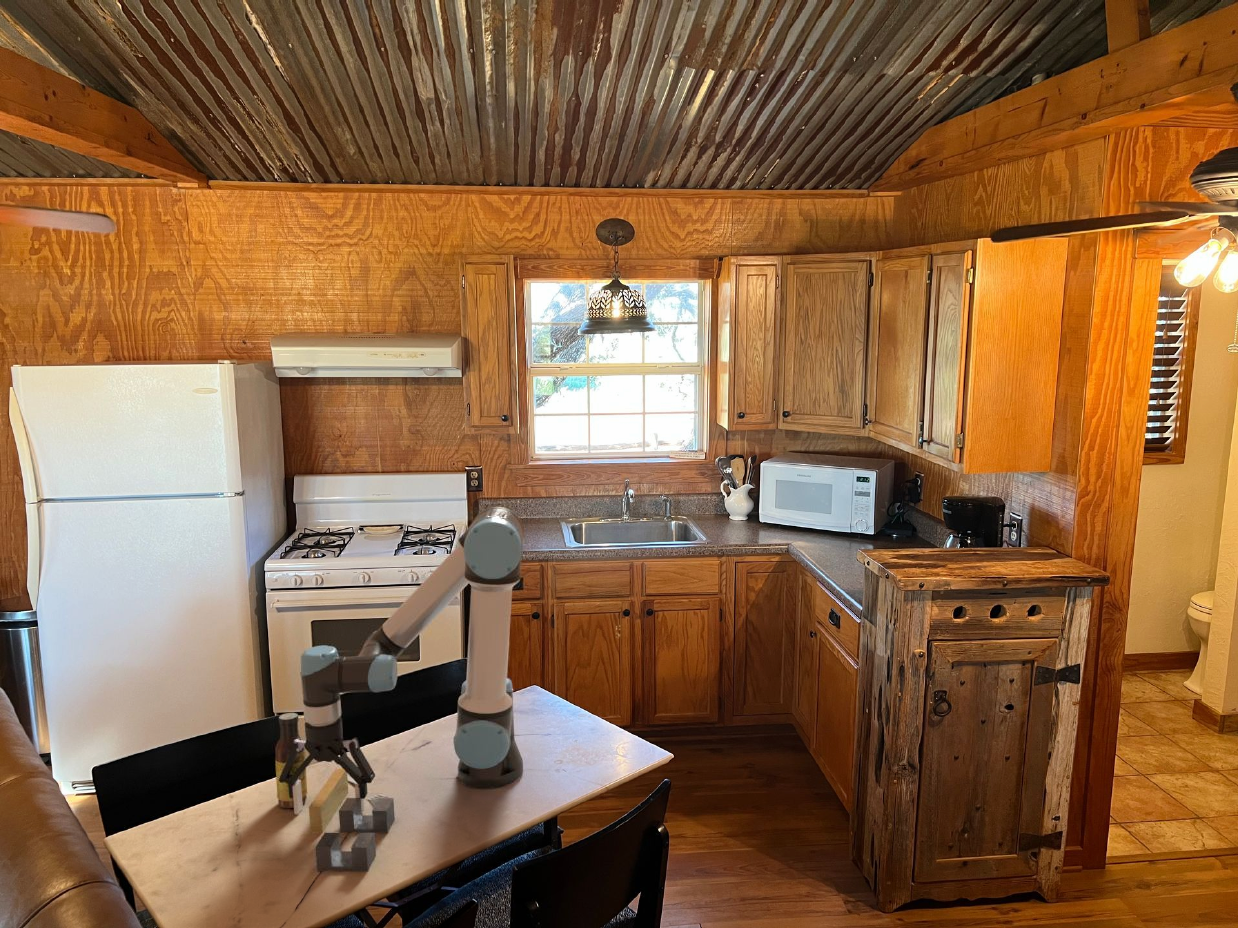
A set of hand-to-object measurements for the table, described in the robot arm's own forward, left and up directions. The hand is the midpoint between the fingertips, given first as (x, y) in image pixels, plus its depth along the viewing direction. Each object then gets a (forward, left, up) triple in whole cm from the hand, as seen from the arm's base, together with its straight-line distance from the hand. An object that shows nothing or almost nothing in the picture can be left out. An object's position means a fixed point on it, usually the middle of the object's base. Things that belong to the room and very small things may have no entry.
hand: (329, 811), depth 193 cm
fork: (-2, -11, -1) cm, 12 cm away
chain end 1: (-10, +5, 0) cm, 12 cm away
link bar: (0, 0, 0) cm, 0 cm away
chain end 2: (-10, +18, 0) cm, 21 cm away
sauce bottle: (+9, -4, 0) cm, 10 cm away
